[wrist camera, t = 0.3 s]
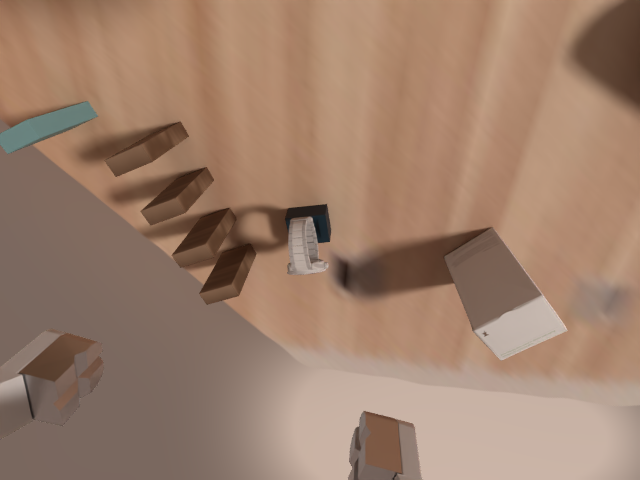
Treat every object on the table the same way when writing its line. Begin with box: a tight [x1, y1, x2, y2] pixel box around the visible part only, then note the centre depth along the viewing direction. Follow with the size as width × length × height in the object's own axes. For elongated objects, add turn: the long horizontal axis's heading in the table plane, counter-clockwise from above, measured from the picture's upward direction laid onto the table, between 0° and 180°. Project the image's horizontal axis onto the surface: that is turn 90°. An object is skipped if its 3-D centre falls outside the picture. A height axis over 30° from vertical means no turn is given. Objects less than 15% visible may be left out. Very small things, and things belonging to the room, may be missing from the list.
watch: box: [285, 204, 331, 275], centre depth 47 cm, size 6×8×11 cm
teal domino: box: [0, 101, 98, 154], centre depth 43 cm, size 2×5×10 cm, turn 112°
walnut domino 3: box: [172, 208, 236, 267], centre depth 49 cm, size 2×5×10 cm, turn 112°
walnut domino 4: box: [199, 244, 256, 305], centre depth 52 cm, size 2×5×10 cm, turn 112°
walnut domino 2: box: [141, 167, 214, 225], centre depth 46 cm, size 2×5×10 cm, turn 112°
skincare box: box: [444, 227, 567, 360], centre depth 46 cm, size 8×7×16 cm
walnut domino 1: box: [104, 122, 189, 177], centre depth 43 cm, size 2×5×10 cm, turn 112°
